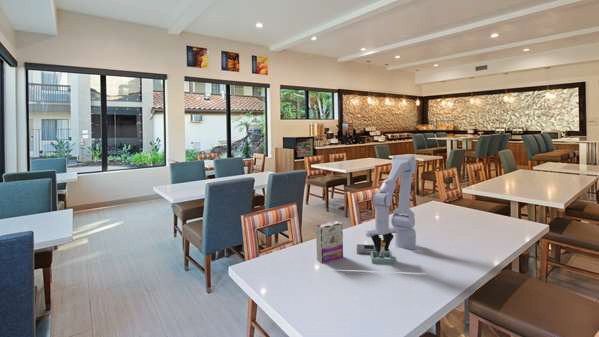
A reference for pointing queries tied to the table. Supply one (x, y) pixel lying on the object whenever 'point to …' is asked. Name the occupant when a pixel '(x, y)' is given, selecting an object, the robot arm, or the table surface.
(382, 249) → the pin
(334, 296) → the table surface
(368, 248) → the plate
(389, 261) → the tray
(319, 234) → the candy bar box
